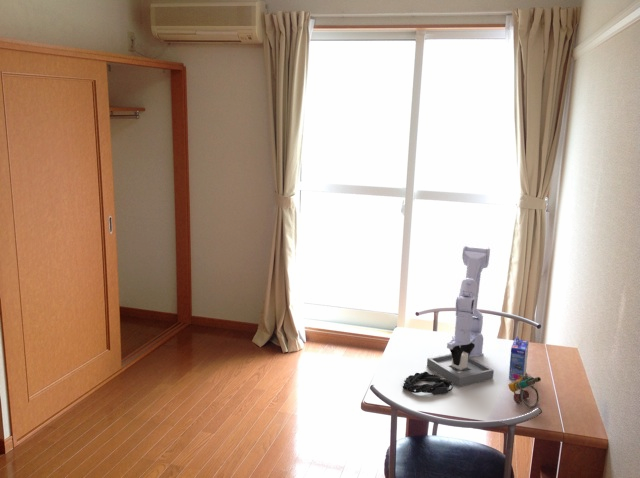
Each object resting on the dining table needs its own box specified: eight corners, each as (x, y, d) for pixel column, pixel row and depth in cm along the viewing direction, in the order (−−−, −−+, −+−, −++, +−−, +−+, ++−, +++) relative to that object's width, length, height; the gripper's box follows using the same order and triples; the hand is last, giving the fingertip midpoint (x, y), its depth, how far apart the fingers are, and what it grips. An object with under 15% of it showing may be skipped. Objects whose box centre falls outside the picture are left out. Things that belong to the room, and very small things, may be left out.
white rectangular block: (458, 363, 214) (459, 349, 213) (467, 367, 211) (468, 353, 210) (451, 365, 211) (452, 352, 210) (460, 369, 208) (461, 355, 207)
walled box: (459, 360, 223) (460, 351, 222) (492, 379, 207) (493, 370, 207) (426, 366, 216) (427, 358, 215) (458, 387, 200) (459, 377, 199)
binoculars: (530, 403, 194) (518, 375, 196) (553, 399, 188) (541, 369, 190) (516, 412, 188) (504, 382, 190) (539, 407, 182) (526, 377, 184)
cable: (409, 399, 191) (410, 387, 190) (394, 380, 204) (395, 369, 203) (456, 395, 195) (457, 383, 194) (438, 377, 208) (439, 366, 207)
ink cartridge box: (510, 368, 217) (514, 332, 214) (526, 371, 215) (530, 335, 212) (507, 378, 208) (511, 341, 205) (523, 382, 206) (527, 344, 203)
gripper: (466, 321, 215) (463, 354, 218) (441, 328, 206) (438, 363, 209) (482, 326, 210) (479, 361, 213) (457, 334, 201) (454, 370, 204)
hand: (460, 363), depth 211 cm, fingers closed on white rectangular block, 4 cm apart
